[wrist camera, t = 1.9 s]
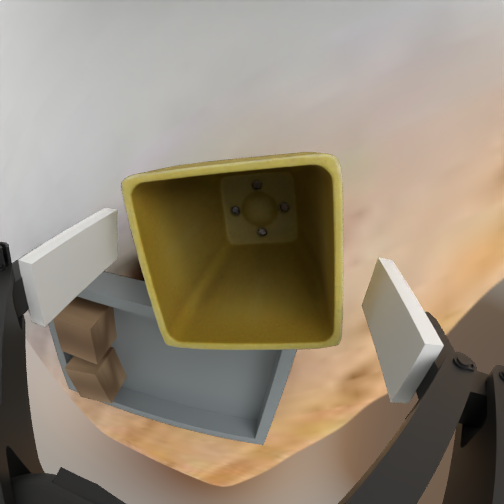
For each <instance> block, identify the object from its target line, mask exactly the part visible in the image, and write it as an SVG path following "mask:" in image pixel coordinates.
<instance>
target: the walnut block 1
mask: <svg viewBox="0 0 504 504" xmlns="http://www.w3.org/2000/svg"><path fill="white" fill-rule="evenodd" d="M53 321H54V325H55V329H56V332H57V336H58V340H59V343H60V347H61V350H62V351H64V352H66V353H69V354H71V355H74V356H76V357H79V358H81V359H84V360H86V361H89V362H92V363H94V364H97V365H98V364H99V362H100V361H101V359H102V358H103V356H104V355H105V353H106V352H107V351H108V349H109V348H110V346H111V345H112V343H113V342H114V341H115V339H116V338H117V333H116V326H115V318H114V309H113V307H110V306H107V305H104V304H100V303H97V302H94V301H90V300H87V299H84V298H81V297H77V296H76V297H75V298H74V299H73V300H72V301H71V302H70V303H69V304H68V305H67V306H66V307H65V308H64V309H63V310H62V311H61V312H60V313H59V314H58V315H57V316H56V317H55V318H54V319H53Z"/></svg>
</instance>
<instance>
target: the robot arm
mask: <svg viewBox="0 0 504 504" xmlns="http://www.w3.org/2000/svg"><path fill="white" fill-rule="evenodd" d="M117 259H118V242H117V210H116V209H110V208H104V209H102V210H100V211H98V212H96V213H95V214H93V215H91V216H89V217H87V218H86V219H84V220H82V221H80V222H79V223H77V224H75V225H73V226H72V227H70V228H68V229H67V230H65V231H63V232H62V233H60V234H58V235H57V236H55V237H53V238H52V239H50V240H48V241H47V242H45V243H44V244H41V245H40V246H38V247H37V248H35V249H34V250H32V251H30V252H29V253H27V254H26V255H24V256H23V257H21V258H19V259H18V260H16V261H15V262H13V263H11V257H10V251H9V245H8V244H7V243H5V242H0V504H125V503H124V502H123V501H121V500H119V499H118V498H116V497H115V496H113V495H112V494H111V493H109V492H107V491H106V490H105V489H103V488H102V487H101V486H99V485H98V484H96V483H93V482H91V481H89V480H87V479H84V478H82V477H80V476H78V475H76V474H74V473H72V472H70V471H68V470H66V469H64V468H62V467H61V468H60V470H59V472H58V473H57V475H54V474H48V473H44V471H43V469H42V466H41V464H40V462H39V459H38V454H37V450H36V444H35V439H34V433H33V427H32V420H31V413H30V405H29V396H28V386H27V372H26V353H25V352H26V350H25V319H24V315H23V314H24V313H25V312H26V311H27V310H28V309H29V313H30V317H31V320H32V322H34V323H36V324H38V325H41V326H43V327H46V326H47V325H48V324H49V323H50V322H51V321H52V320H53V319H54V318H55V317H56V316H57V315H58V314H59V313H60V312H61V311H62V310H63V309H64V308H65V307H66V306H67V305H68V304H69V303H70V302H71V301H72V300H73V299H74V298H75V297H76V296H77V295H79V294H80V293H81V292H82V291H83V290H84V289H85V288H86V287H87V286H88V285H89V284H90V283H91V282H92V281H93V280H95V279H96V278H97V277H98V276H99V275H100V274H101V273H102V272H103V271H104V270H106V269H107V268H108V267H109V266H110V265H111V264H112V263H113V262H114V261H116V260H117ZM362 308H363V311H364V314H365V317H366V320H367V323H368V326H369V329H370V332H371V336H372V339H373V342H374V345H375V349H376V352H377V355H378V359H379V362H380V365H381V369H382V372H383V376H384V380H385V383H386V387H387V391H388V394H389V398H390V402H391V403H409V402H410V400H411V399H412V397H413V396H414V394H415V393H417V395H418V398H419V400H418V402H417V403H416V405H415V406H414V407H413V409H412V411H411V412H410V413H409V414H408V416H407V417H406V418H405V419H406V420H405V421H404V423H403V424H402V426H401V427H400V429H399V430H398V431H397V433H396V434H395V436H394V437H393V439H392V440H391V441H390V442H389V444H388V445H387V446H386V448H385V449H384V450H383V452H382V453H381V454H380V456H379V457H378V458H377V459H376V461H375V462H374V463H373V464H372V466H371V467H370V468H369V469H368V470H367V472H366V473H365V474H364V475H363V477H362V478H361V479H360V480H359V481H358V482H357V483H356V485H355V486H354V487H353V488H352V489H351V490H350V492H348V494H347V495H346V496H345V497H344V498H343V499H342V500H341V501H340V502H339V503H338V504H417V502H418V500H419V499H420V497H421V496H422V494H423V492H424V491H425V489H426V487H427V485H428V484H429V482H430V480H431V478H432V476H433V474H434V473H435V471H436V469H437V467H438V465H439V463H440V461H441V459H442V457H443V455H444V453H445V451H446V449H447V447H448V445H449V442H450V440H451V438H452V436H453V434H454V431H455V429H456V432H455V440H454V448H453V454H452V460H451V466H450V472H449V477H448V482H447V487H446V491H445V495H444V499H443V503H442V504H504V366H501V365H497V366H495V367H494V368H493V369H492V371H491V373H490V374H489V375H488V374H484V373H481V372H478V371H477V367H476V365H475V363H474V362H473V361H472V360H471V359H470V358H469V357H468V356H466V355H464V354H462V353H459V352H455V351H454V349H453V347H452V346H451V344H450V342H449V340H448V338H447V337H446V335H444V334H445V333H444V331H443V330H442V329H441V326H440V325H439V323H438V321H437V320H436V319H435V318H434V317H433V316H432V315H431V314H430V313H429V312H424V310H423V308H422V307H421V305H420V303H419V302H418V300H417V298H416V297H415V295H414V293H413V292H412V290H411V289H410V287H409V285H408V284H407V282H406V281H405V279H404V278H403V276H402V274H401V273H400V271H399V270H398V268H397V267H396V265H395V264H394V262H393V261H392V260H389V259H384V258H380V257H378V259H377V263H376V266H375V269H374V272H373V275H372V278H371V281H370V284H369V286H368V289H367V292H366V295H365V298H364V300H363V303H362Z"/></svg>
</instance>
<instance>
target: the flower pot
mask: <svg viewBox="0 0 504 504" xmlns="http://www.w3.org/2000/svg"><path fill="white" fill-rule="evenodd" d="M255 181H259V182H260V183H261V188H260V189H255V188H254V187H253V183H254V182H255ZM121 188H122V195H123V200H124V204H125V208H126V213H127V217H128V221H129V225H130V229H131V233H132V237H133V240H134V244H135V247H136V251H137V255H138V259H139V263H140V266H141V270H142V273H143V277H144V280H145V284H146V288H147V291H148V294H149V297H150V300H151V304H152V308H153V311H154V314H155V317H156V320H157V323H158V327H159V329H160V332H161V334H162V337H163V339H164V342H165V343H166V345H169V346H173V347H179V348H191V349H209V350H284V349H317V348H325V347H330V346H336V345H338V344H339V343H340V341H341V336H342V319H343V187H342V174H341V167H340V163H339V161H338V159H337V158H336V157H335V156H333V155H331V154H324V153H316V152H301V153H291V154H280V155H269V156H259V157H249V158H239V159H229V160H219V161H210V162H202V163H193V164H185V165H178V166H173V167H168V168H162V169H158V170H153V171H149V172H144V173H139V174H134V175H131V176H128V177H127V178H125V179H124V180H123V181H122V183H121ZM282 203H286V204H287V205H288V210H286V211H282V210H281V209H280V205H281V204H282ZM233 207H238V208H239V209H240V213H239V214H234V213H233V212H232V208H233ZM260 228H264V229H266V234H265V235H260V234H259V233H258V230H259V229H260Z"/></svg>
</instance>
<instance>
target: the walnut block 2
mask: <svg viewBox="0 0 504 504" xmlns="http://www.w3.org/2000/svg"><path fill="white" fill-rule="evenodd" d="M64 369H65V371H66V373H67V374H68V376H69V378H70V380H71V381H72V383H73V385H74V386H75V388H76V390H77V391H78V393H79V394H80V396H81V397H84V398H88V399H93V400H97V401H102V402H106V403H111V404H112V402H113V400H114V398H115V397H116V395H117V393H118V391H119V390H120V388H121V386H122V384H123V383H124V381H125V379H126V377H127V375H126V373H125V371H124V369H123V367H122V365H121V363H120V360H119V358H118V356H117V354H116V352H115V349H114V347H110V348H109V349H108V351H107V352H106V353H105V355H104V356H103V358H102V359H101V361H100V362H99V364H98V365H97V364H94V363H92V362H89V361H86V360H84V359H81V358H79V357H76V356H73V357H72V359H71V360H70V361H69V363H68V364H67V365H66V367H65V368H64Z"/></svg>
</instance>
